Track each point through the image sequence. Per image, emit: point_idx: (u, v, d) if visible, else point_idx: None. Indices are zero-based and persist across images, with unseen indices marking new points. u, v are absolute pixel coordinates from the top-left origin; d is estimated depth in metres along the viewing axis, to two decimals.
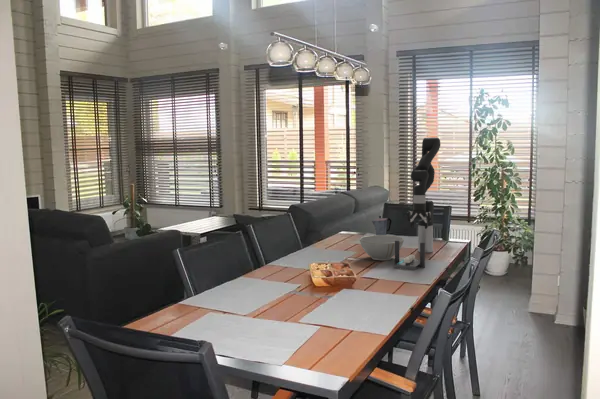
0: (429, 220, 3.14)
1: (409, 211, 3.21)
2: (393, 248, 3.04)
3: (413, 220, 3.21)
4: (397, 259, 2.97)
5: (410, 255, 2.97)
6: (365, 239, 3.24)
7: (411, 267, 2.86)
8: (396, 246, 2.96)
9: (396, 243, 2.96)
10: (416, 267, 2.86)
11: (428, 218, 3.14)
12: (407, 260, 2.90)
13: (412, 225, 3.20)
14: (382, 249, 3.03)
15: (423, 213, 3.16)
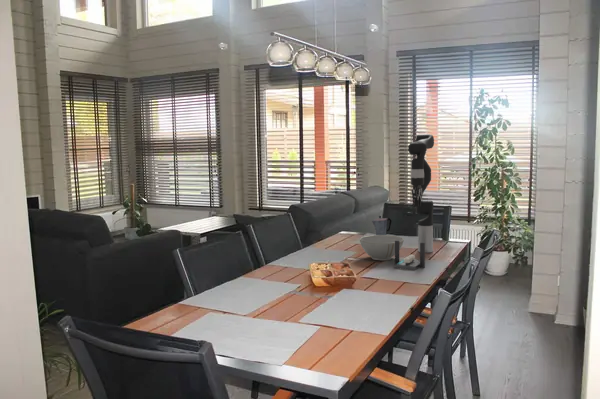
0: None
1: (415, 189, 2.96)
2: (393, 248, 3.04)
3: None
4: (397, 259, 2.97)
5: (410, 255, 2.97)
6: (365, 239, 3.24)
7: (411, 267, 2.86)
8: (396, 246, 2.96)
9: (396, 243, 2.96)
10: (416, 267, 2.86)
11: (422, 194, 3.05)
12: (407, 260, 2.90)
13: (418, 203, 3.01)
14: (382, 249, 3.03)
15: None
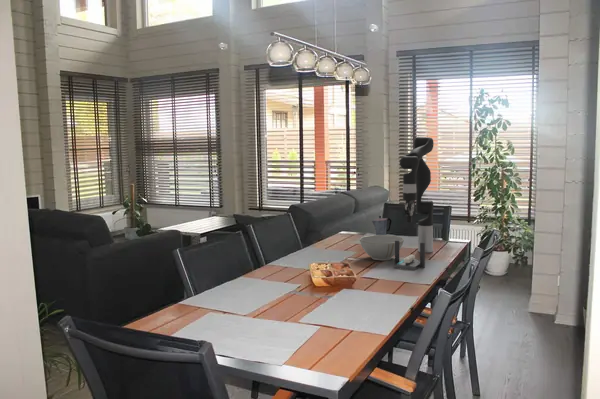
0: (413, 212, 2.93)
1: (407, 207, 2.85)
2: (393, 248, 3.04)
3: (408, 213, 2.91)
4: (397, 259, 2.97)
5: (410, 255, 2.97)
6: (365, 239, 3.24)
7: (411, 267, 2.86)
8: (396, 246, 2.96)
9: (396, 243, 2.96)
10: (416, 267, 2.86)
11: (413, 210, 2.93)
12: (407, 260, 2.90)
13: (411, 219, 2.91)
14: (382, 249, 3.03)
15: None
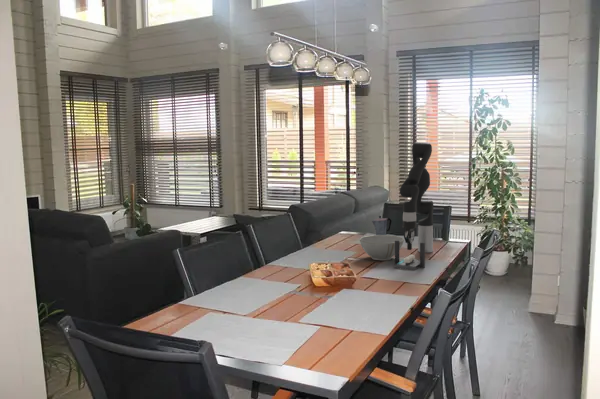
0: (413, 240, 2.95)
1: (407, 235, 2.87)
2: (393, 248, 3.04)
3: None
4: (397, 259, 2.97)
5: (410, 255, 2.97)
6: (365, 239, 3.24)
7: (411, 267, 2.86)
8: (396, 246, 2.96)
9: (396, 243, 2.96)
10: (416, 267, 2.86)
11: (413, 237, 2.95)
12: (407, 260, 2.90)
13: (411, 247, 2.93)
14: (382, 249, 3.03)
15: None
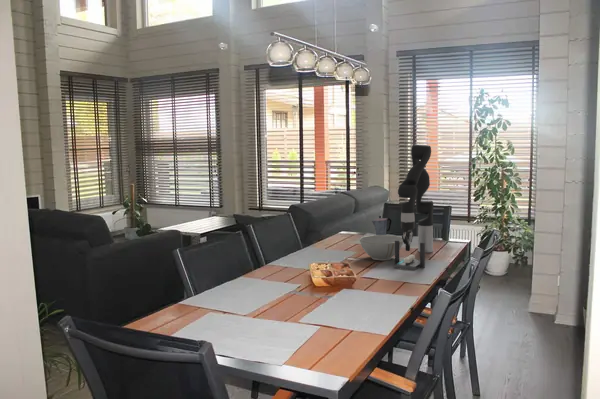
0: (411, 241, 2.92)
1: (405, 236, 2.85)
2: (393, 248, 3.04)
3: (406, 242, 2.90)
4: (397, 259, 2.97)
5: (410, 255, 2.97)
6: (365, 239, 3.24)
7: (411, 267, 2.86)
8: (396, 246, 2.96)
9: (396, 243, 2.96)
10: (416, 267, 2.86)
11: (411, 238, 2.93)
12: (407, 260, 2.90)
13: (409, 248, 2.90)
14: (382, 249, 3.03)
15: None
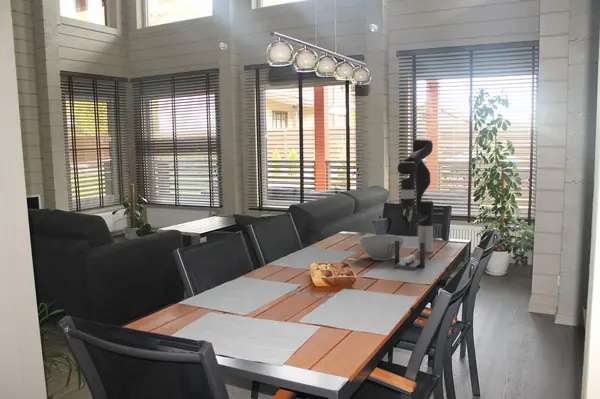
0: (411, 218, 2.91)
1: (405, 212, 2.83)
2: (393, 248, 3.04)
3: (406, 219, 2.89)
4: (397, 259, 2.97)
5: (410, 255, 2.97)
6: (365, 239, 3.24)
7: (411, 267, 2.86)
8: (396, 246, 2.96)
9: (396, 243, 2.96)
10: (416, 267, 2.86)
11: (411, 215, 2.91)
12: (407, 260, 2.90)
13: (409, 225, 2.89)
14: (382, 249, 3.03)
15: None
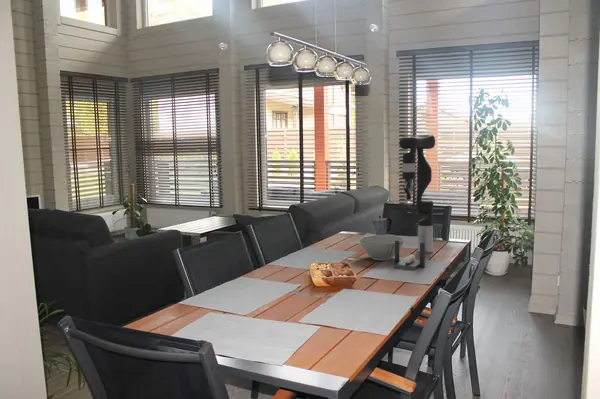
0: (412, 190, 3.08)
1: (407, 185, 3.00)
2: (393, 248, 3.04)
3: (407, 191, 3.06)
4: (397, 259, 2.97)
5: (410, 255, 2.97)
6: (365, 239, 3.24)
7: (411, 267, 2.86)
8: (396, 246, 2.96)
9: (396, 243, 2.96)
10: (416, 267, 2.86)
11: (412, 188, 3.08)
12: (407, 260, 2.90)
13: (410, 197, 3.06)
14: (382, 249, 3.03)
15: None
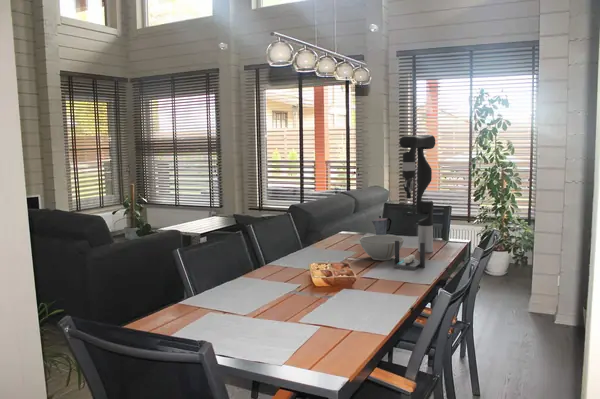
0: (412, 189, 3.09)
1: (407, 183, 3.01)
2: (393, 248, 3.04)
3: (407, 190, 3.07)
4: (397, 259, 2.97)
5: (410, 255, 2.97)
6: (365, 239, 3.24)
7: (411, 267, 2.86)
8: (396, 246, 2.96)
9: (396, 243, 2.96)
10: (416, 267, 2.86)
11: (412, 187, 3.09)
12: (407, 260, 2.90)
13: (410, 196, 3.06)
14: (382, 249, 3.03)
15: None
